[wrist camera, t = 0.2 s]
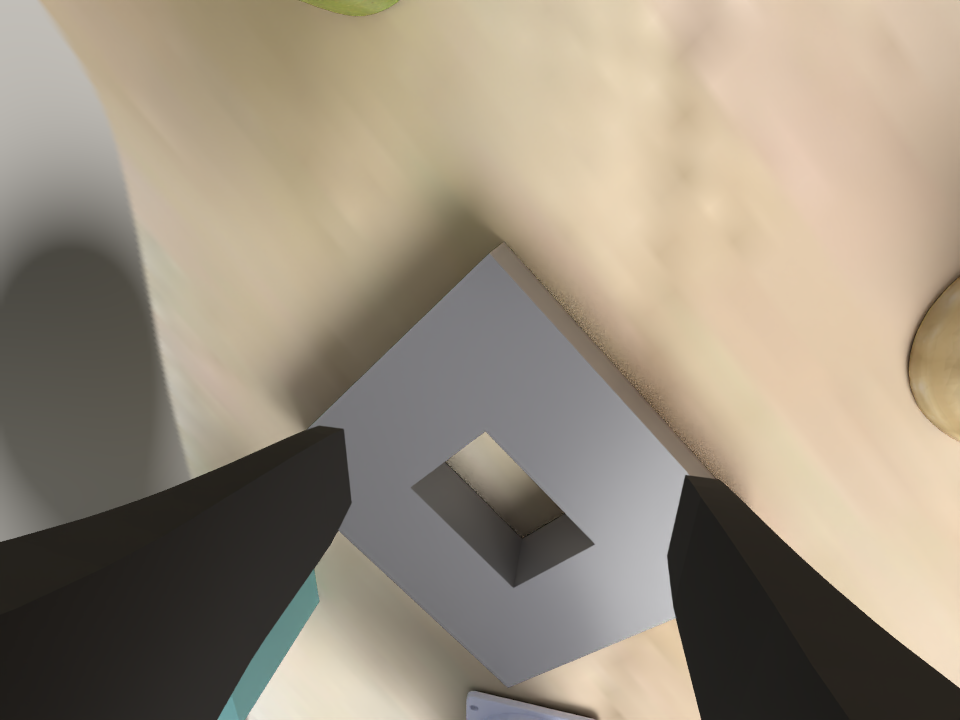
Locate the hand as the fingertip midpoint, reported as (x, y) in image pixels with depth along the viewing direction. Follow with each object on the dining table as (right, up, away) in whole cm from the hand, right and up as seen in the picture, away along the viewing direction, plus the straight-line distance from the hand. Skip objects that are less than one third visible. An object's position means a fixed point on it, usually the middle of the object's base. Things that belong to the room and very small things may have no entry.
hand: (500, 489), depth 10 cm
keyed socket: (+1, -3, +12) cm, 12 cm away
